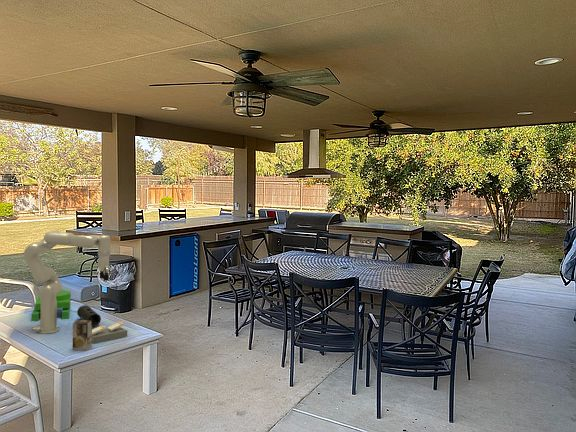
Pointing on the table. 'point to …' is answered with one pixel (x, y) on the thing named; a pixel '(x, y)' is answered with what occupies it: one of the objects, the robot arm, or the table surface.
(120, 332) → the switch block
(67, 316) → the tank
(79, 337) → the coffee box
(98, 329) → the block
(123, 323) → the far rocker
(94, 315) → the muzzle brake
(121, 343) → the table surface
